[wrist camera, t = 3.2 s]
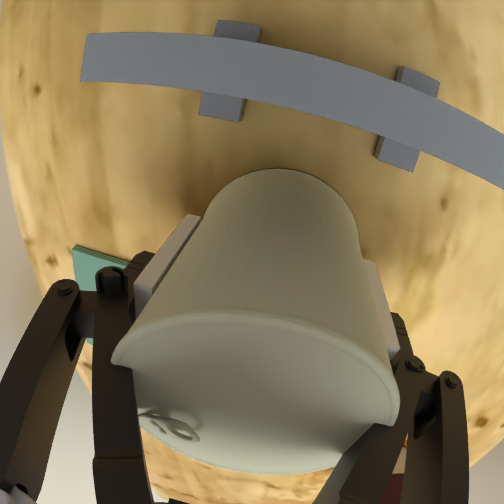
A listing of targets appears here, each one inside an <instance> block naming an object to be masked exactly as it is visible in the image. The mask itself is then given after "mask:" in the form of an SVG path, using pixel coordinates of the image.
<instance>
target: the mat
mask: <svg viewBox="0 0 504 504" xmlns="http://www.w3.org/2000/svg"><path fill="white" fill-rule="evenodd" d="M72 256H73V265H74V272H75V279H76V282H77V283H78V285H79V288H80V290H85V291H96V282H95V275H96V272H97V271H99V270H100V269H101V268H104V267H108V266H116V267H120V268H122V269H124V268H125V267H126V266H127V265H128V264H129V261H126V260H122V259H119V258H116V257H112V256H109V255H106V254H102V253H99V252H96V251H93V250H89V249H86V248H83V247H80V246H77V245H76V246H75V247H74V248H73V249H72ZM86 340H87V343H90V344H92V345H93V338H86Z"/></svg>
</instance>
